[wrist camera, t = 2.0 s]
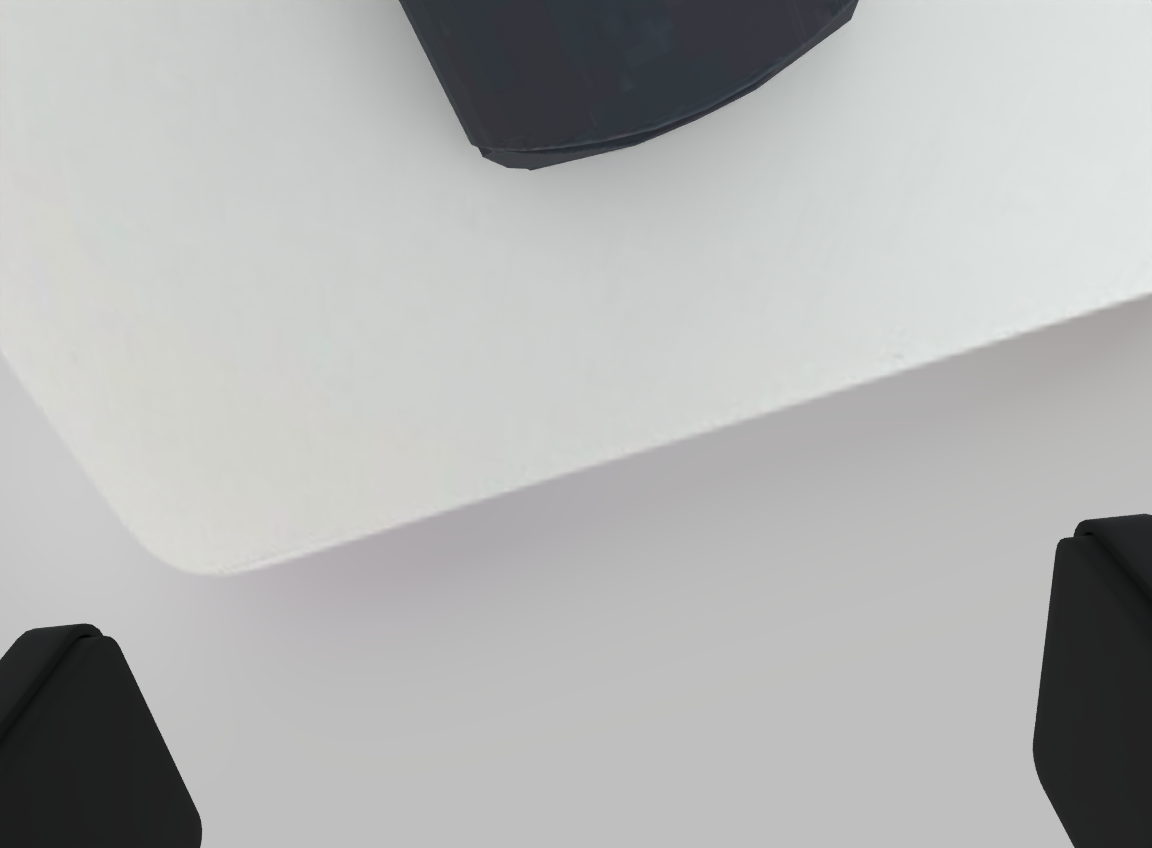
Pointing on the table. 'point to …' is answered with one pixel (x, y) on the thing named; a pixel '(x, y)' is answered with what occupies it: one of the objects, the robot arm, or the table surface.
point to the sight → (605, 66)
